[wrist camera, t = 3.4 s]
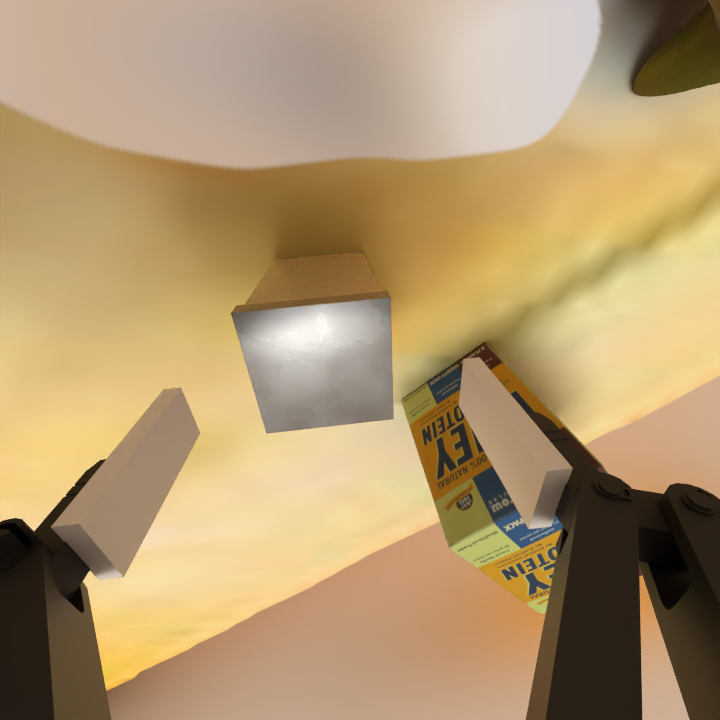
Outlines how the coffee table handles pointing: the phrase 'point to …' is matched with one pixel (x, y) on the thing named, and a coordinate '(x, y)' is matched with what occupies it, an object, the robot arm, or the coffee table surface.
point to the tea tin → (318, 343)
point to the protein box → (483, 484)
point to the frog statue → (685, 57)
